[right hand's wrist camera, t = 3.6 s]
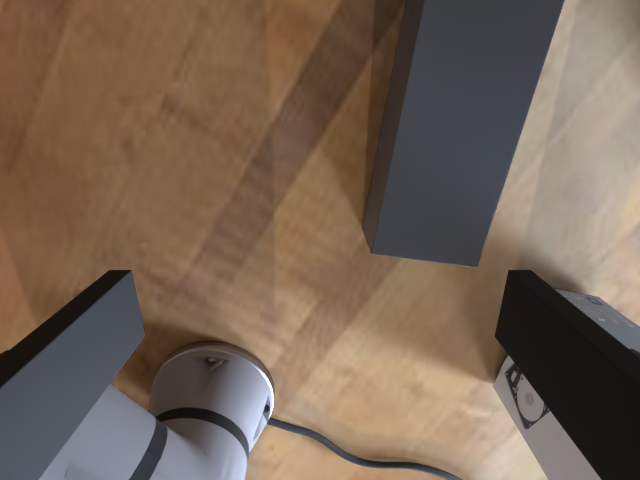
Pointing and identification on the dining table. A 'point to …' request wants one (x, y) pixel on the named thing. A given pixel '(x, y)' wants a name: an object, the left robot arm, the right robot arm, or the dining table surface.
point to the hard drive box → (534, 416)
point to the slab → (453, 124)
